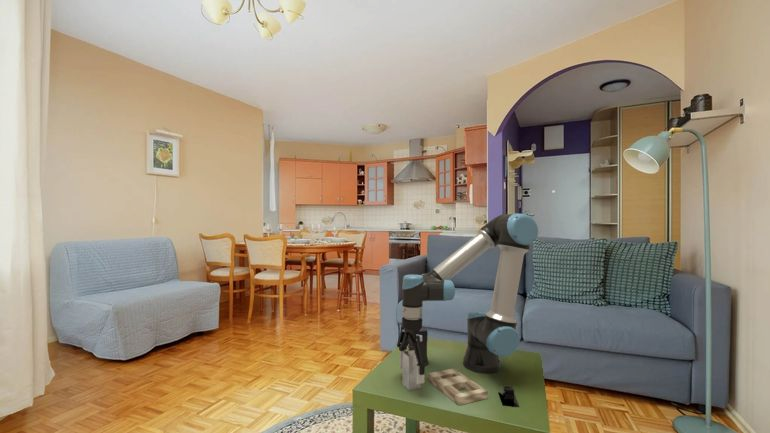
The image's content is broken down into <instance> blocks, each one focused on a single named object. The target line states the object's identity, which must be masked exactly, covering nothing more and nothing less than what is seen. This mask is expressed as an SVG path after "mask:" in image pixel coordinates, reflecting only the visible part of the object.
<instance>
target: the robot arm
mask: <svg viewBox="0 0 770 433" xmlns="http://www.w3.org/2000/svg"><path fill="white" fill-rule="evenodd" d="M538 235H539V227H538V224H537V221H535V219H534V218H533V217H532V216H530V215H528V214H525V213H517V212H516V213H509V214H508V213H505V214H499V215H497V216H496V217H494V218H492V219H491V220H490V221H488V222H487V223H486V224H484V225H483V226H482V227H481V228H479V229H478V230H477V233H476V235H475V236H474V237H472V238H471V239H469V240H468V241H467V242H466V243H464V244H463V245H462V246H461V247H459V248H458V249H457V250H456V251H455V252H453V253H451V255H449V256H448V257H446V258H445V259H444V260H443V261H441V262H440V263H439V264H437V265H436V266H435V267H434V268H433V269H431V270H430V271H428V272H427V273H422V274H405V275H403V278H402V287H401V289H402V293H401V294H402V295H401V296H402V297H401V298H402V300H401V302H402V304H401V305H402V306H401V312H402V313H401V314H402V318H401V326H400V332H399V334H398V336H399V337H398V339H397V343H396V347H397V348H398V350H399V369H402V370H403V352H405V351H408V345H409V342H410V344H411V346H412V347H413V348H414V352H415V355H416V358H417V362H418V364H417V384H421V385H422V384H424V383H425V374H426V373H425V370H426V369H425V368H426V367H425V366H429V364H430V363H429V358H428V352H427V353H426V348H425V343H424V335H419V330H420V329H421V328H422V327H423V308H424V307H423V305H424V304H423V302H432V301H433V302H435V301H437V302H440V301H443V302H446V301H452V300H453V299H454V298H455V294H456V289H455V284H454V282H453V281H452V280H451V279H452V278H453V277H454V276H456V275H457V274H458V273H459V272H461V271H462V270H464V269H465V268H466V267H467V266H469V265H470V264H471V263H473V262H474V261H475V260H476V259H477V258H479V257H480V256H481V255H482V254H484V253H485V252H486V251H488V250H489V249H494V248H495V247H497V246H498V248H499V249H500V251H499V260H498V264H497V265H498V266H497V270H496V277H495V281H494V288H493V294H492V299H491V305H490V310H487V309H484V310H483V309H477V310H476V309H474V310H470V311H468V313H467V319H466V320H467V347H466V348H465V352H464V356H463V359H462V363H463V366H464V367H465V368H466V369H467V370H470V371H472V372H475V373H482V374H489V373H490V374H492V373H496V372H497V373H498V372H499V371H500V370H501V360H500V358H499V357H509V356H511V355H512V354H513V353H515V352H516V351H517V350H518V348H519V347H520V342H521V338H520V335H519V333H518V331H517V330H516V329H517V323H518V322H517V320H516V318H515V317H514V315H515V309H516V303H517V297H518V292H519V285H520V279H521V272H522V268H523V261H524V257H525V254H526V253H528V252H529V251H530V247H531V246H530V245H531V244H533V242H535V241H536V240H537V238H538Z"/></svg>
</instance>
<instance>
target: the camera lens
mask: <svg viewBox="0 0 770 433" xmlns="http://www.w3.org/2000/svg"><path fill="white" fill-rule="evenodd" d="M428 334H429V333H428V329H427V327H425V326H422V328H421V329H420V330H419V335H424V343H425V348H426V353H427V354H428ZM407 349H408V351H412V350H414V348H413V347H412V346H411V344H410V342H409V344H408V346H407Z"/></svg>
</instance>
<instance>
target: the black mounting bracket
mask: <svg viewBox="0 0 770 433" xmlns="http://www.w3.org/2000/svg"><path fill="white" fill-rule="evenodd" d="M497 394H498V396H499V400H500V403H501V405H502V406H503V407H509V408H511V407H513V408H520V404H519V402H518V400H517V397H516V394H515V389H514V388H513V385H508V384H507V385H506V384H503V386H502V392H498V393H497Z"/></svg>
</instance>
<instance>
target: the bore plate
mask: <svg viewBox="0 0 770 433" xmlns="http://www.w3.org/2000/svg"><path fill="white" fill-rule="evenodd" d="M427 381H429V383H431V384H432V385H433V386H434V387H436V388H437V389H438V390H439V391H440V392H442V393H443V394H444V395H445V396H447V397H448V398H449V399H450V400H452V401H453V402H454V403H455V404H456V405H458V406H461V405H466V404H469V403H474V402H478V401H483V400H486V399H488V394H489V392H488V390H487V389H485V388H484V387H483V386H481V385H479V384H478V383H477V382H475V381H473V380H472V379H470V378H469V377H467V376H466V375H465V374H463V373H461V372H460V371H458V370H457V369H456V368H450V369H444V370H437V371H434V372H428V373H427ZM460 390H467V391H465V392H461V391H460Z"/></svg>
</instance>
